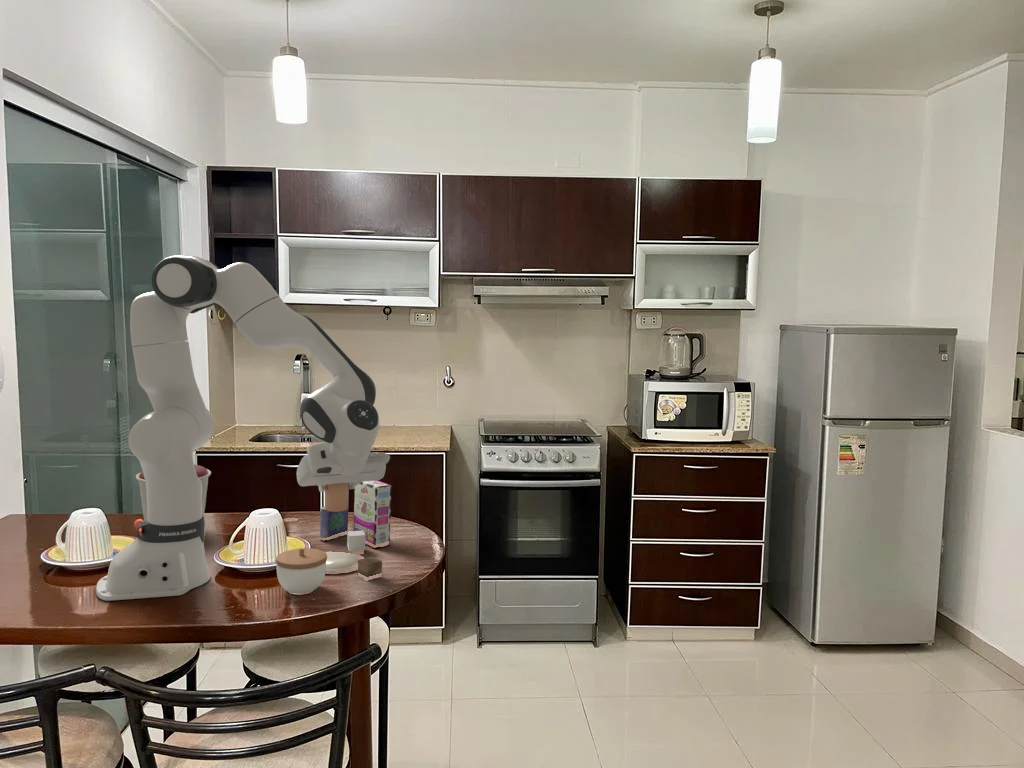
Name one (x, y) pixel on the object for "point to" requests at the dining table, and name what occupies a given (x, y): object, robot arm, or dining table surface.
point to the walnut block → (369, 566)
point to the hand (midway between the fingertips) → (336, 488)
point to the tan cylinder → (336, 497)
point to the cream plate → (340, 561)
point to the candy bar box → (373, 510)
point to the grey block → (355, 540)
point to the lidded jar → (301, 569)
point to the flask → (333, 522)
